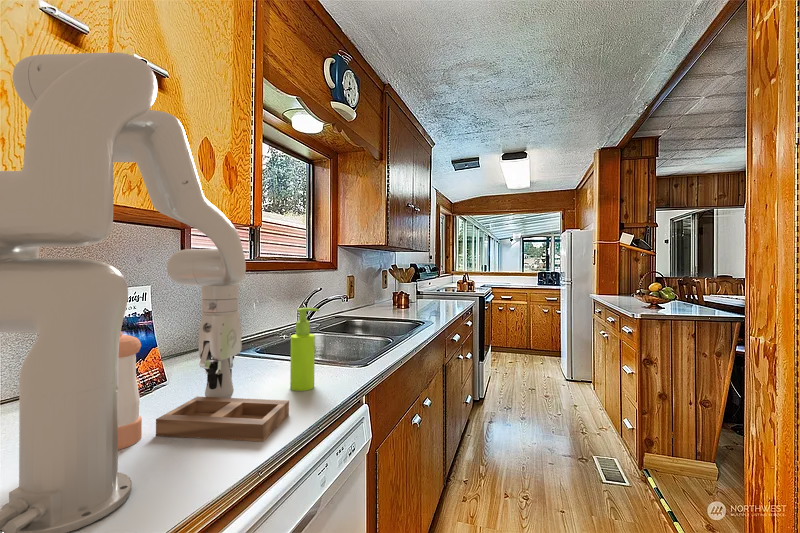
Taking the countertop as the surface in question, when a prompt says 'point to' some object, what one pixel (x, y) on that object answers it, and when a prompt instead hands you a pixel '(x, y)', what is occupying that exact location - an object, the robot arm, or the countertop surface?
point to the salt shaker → (227, 384)
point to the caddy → (224, 419)
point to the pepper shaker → (128, 393)
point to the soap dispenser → (302, 354)
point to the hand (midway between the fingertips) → (219, 388)
